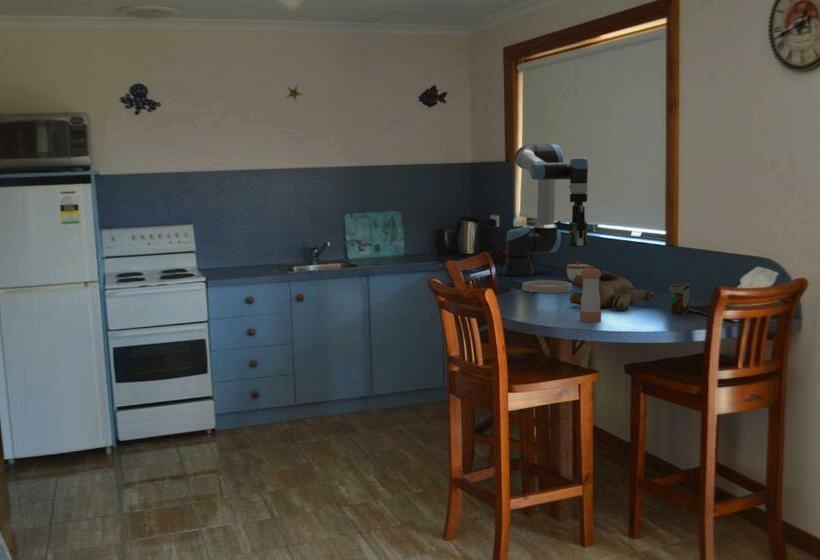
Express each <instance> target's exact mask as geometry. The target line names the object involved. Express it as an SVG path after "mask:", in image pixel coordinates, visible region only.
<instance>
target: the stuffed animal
mask: <svg viewBox="0 0 820 560" xmlns="http://www.w3.org/2000/svg"><path fill="white" fill-rule="evenodd" d="M600 272H601V277H600V278H599V280H601V281H599V295H600V309H605V308H609V307H612V308H613V309H615V310H621V311H622V312H623V311H628V310H629V306H630V304H635V303H638V302H640V301H642V300H645V301H648V302H652V301H653V299H654V296H655V295H654V292H653V291H652V290H651V291H649V290H645V289H639V288H635V287H634V286H633V284H632V282H631V281H629V280H628V279H627V278H624V277H621V276H619V275H617V274H614V273H613V272H612V273H611V272H610V271H609V272H608V271H605V270H600ZM572 286H574V287H577V288H580V289H582V290H583V277H582V276H581V275H576V276H575V278H574V281H573V282H572ZM581 298H582V292H581V293H580V292H576V291H575V292H572V293H571V294H570V296H569V301H570V304H571V305H572V304H574V305H575V304H576V305H579V306H581Z"/></svg>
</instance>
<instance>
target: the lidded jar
mask: <svg viewBox="0 0 820 560" xmlns="http://www.w3.org/2000/svg"><path fill="white" fill-rule="evenodd" d="M590 266H591V265H590V264H585V263H580V261H577V262H576V263H570V264H566V275H567V277H568V279H569V280H570V281H571V282H570V283H573V281H574V278H575V276H576V275H581V272H582V270H584V269H587V268H589V267H590Z"/></svg>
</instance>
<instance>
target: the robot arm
mask: <svg viewBox="0 0 820 560" xmlns="http://www.w3.org/2000/svg"><path fill="white" fill-rule="evenodd" d="M588 161H589V160H588V158H586V157H572V158H570V161H569V162H564V154H563V150H562V148H561V147H560V145H558V144H555V143H554V144H551V143H545V144H542V143H541V144H535V143H534V144H525V145H523V146H521V147H520V148H518V149H517V151H516V152H515V155H514V163H515V164H516V166H518V167H519V168H521V170H527V171H528V172H530V174H529V175H530V177H531V179H532V180H533V181H534V180H537V205H536V206H537V207H536V208H537V211H536V223H535V224H534V225H533V229H531V228H530V227H528V226H526V227H517V228H512V229H509V230H508V231H507V232H506V260H505V264H504V266H503V270H502V271H503V272H502V273H503V275H505V276H512V277H524V276H525V277H526V276H533V275H534V268H533V264H532V262H531V254H541V253H542V254H549V253H552V254H553V253H556V252H557V251H558V250H559V248H560V245H561V241H562V235H561V233H562V232H561V231H560V229H558V226H557V224H555V209H556V207H555V204H556V180H569V183H570V184H569V185H568V188H569V192H570V194H569V202H571V203H574V205H572V210H571V211H572V213H571V222H574V223H577V226H578V229H576V231H577V246H583V233H584V229H585V221H586V220H585V219H586V218H585V217H586V216H585V214H586V213H585V209H586V208H585V207H586V206H584V205H583V203H587V202H588V177H589V176H588V175H589V174H588V171H589V164H588Z"/></svg>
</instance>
